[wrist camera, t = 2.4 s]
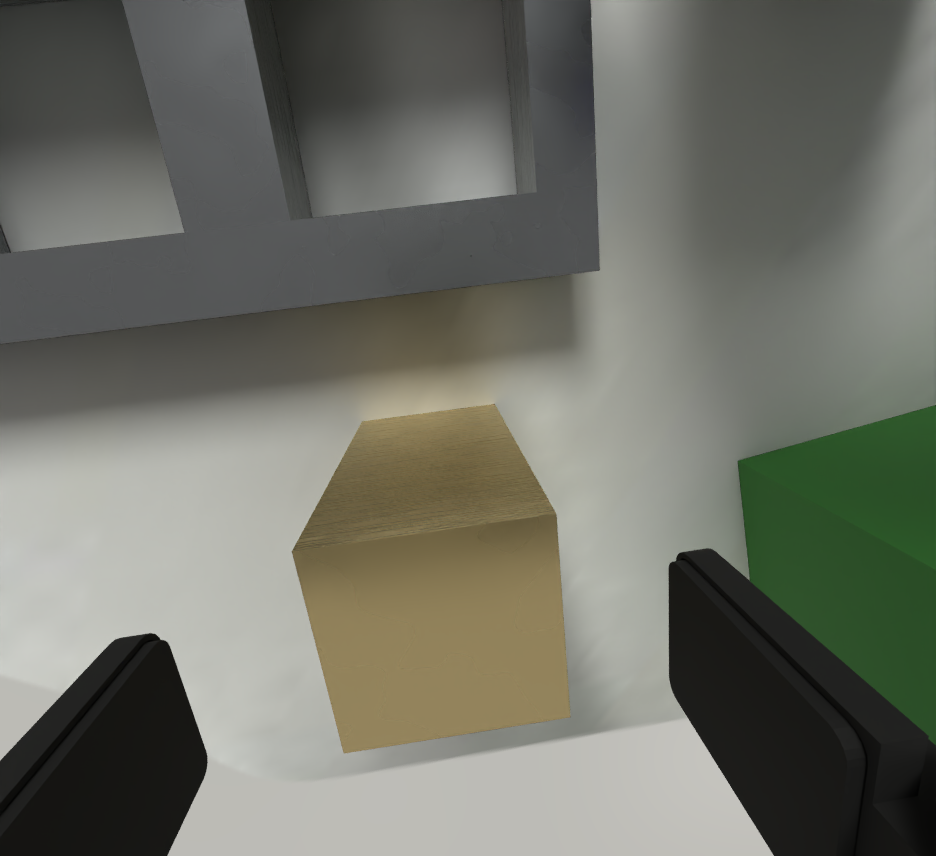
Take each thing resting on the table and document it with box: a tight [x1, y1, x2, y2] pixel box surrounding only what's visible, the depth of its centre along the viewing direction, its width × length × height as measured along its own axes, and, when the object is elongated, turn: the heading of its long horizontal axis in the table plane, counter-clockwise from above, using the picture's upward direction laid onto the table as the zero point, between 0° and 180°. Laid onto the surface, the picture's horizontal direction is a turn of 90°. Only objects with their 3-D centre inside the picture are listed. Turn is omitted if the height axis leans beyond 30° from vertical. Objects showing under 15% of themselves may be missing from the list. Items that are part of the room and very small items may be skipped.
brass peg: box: [292, 404, 570, 753], centre depth 12 cm, size 4×4×8 cm
